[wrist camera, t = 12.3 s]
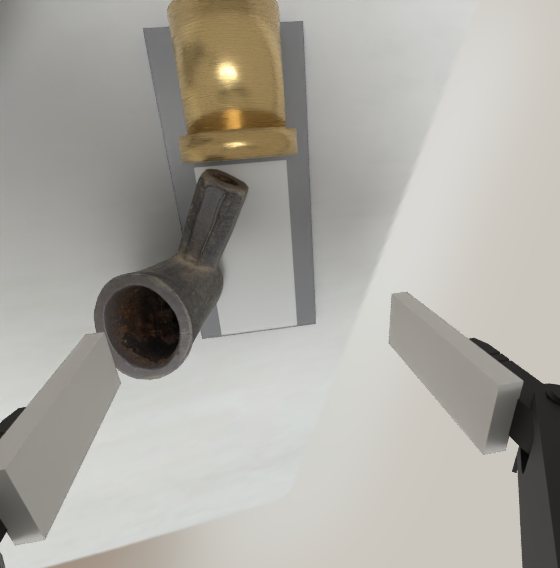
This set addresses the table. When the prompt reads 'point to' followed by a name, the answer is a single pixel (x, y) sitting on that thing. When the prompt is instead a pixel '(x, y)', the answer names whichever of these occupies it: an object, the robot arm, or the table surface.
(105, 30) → the table surface
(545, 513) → the robot arm
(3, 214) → the table surface
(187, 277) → the pipe
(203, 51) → the cylinder
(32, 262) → the table surface
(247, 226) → the base
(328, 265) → the table surface
